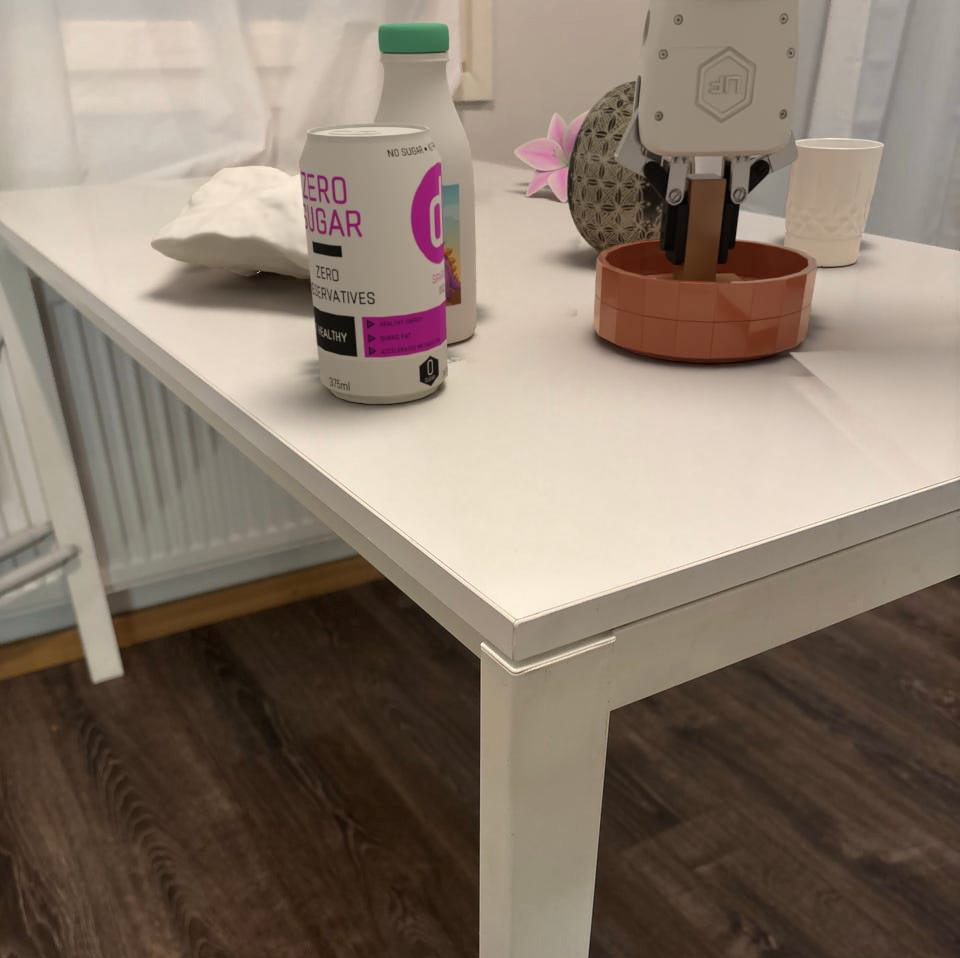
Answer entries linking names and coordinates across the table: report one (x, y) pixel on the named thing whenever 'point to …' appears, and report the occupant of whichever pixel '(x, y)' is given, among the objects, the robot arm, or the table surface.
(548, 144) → the lily
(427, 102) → the milk bottle
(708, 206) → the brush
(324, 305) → the supplement can
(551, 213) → the table surface
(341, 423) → the table surface
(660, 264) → the bowl
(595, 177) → the decorative egg
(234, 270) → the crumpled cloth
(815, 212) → the white cup
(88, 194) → the table surface
